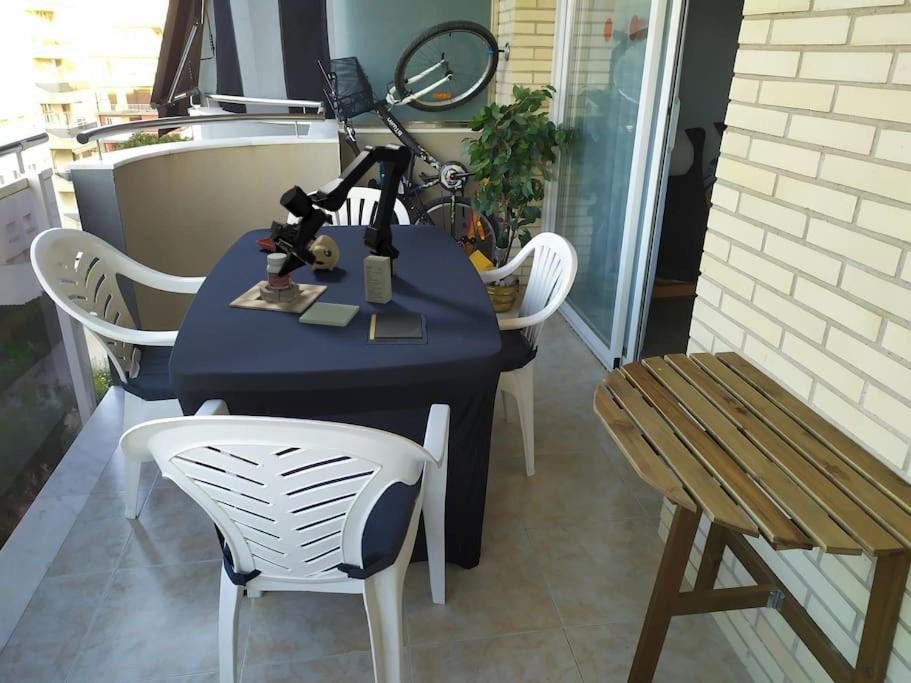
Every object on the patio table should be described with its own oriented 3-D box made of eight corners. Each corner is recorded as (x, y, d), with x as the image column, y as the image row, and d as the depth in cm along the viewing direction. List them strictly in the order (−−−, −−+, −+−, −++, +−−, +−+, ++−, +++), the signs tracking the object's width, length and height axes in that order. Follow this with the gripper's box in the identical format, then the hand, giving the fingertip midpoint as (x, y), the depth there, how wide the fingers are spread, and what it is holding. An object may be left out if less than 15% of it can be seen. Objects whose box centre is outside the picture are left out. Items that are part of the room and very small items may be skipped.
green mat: (359, 309, 173) (359, 306, 172) (344, 326, 162) (344, 322, 161) (316, 305, 174) (316, 302, 174) (299, 322, 164) (299, 318, 163)
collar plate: (327, 288, 187) (326, 278, 186) (300, 313, 169) (300, 302, 168) (262, 282, 190) (261, 272, 189) (229, 306, 172) (228, 295, 171)
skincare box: (392, 299, 180) (391, 257, 175) (385, 304, 177) (384, 261, 172) (371, 296, 182) (370, 254, 177) (364, 301, 179) (362, 258, 174)
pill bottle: (295, 296, 179) (292, 257, 174) (273, 300, 176) (269, 260, 171) (287, 289, 183) (284, 251, 179) (266, 293, 180) (262, 254, 176)
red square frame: (296, 239, 235) (295, 230, 233) (331, 248, 225) (330, 239, 224) (255, 250, 221) (254, 240, 220) (291, 260, 212) (290, 250, 211)
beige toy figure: (302, 275, 197) (300, 241, 193) (312, 263, 208) (310, 231, 204) (334, 276, 197) (333, 242, 193) (342, 264, 208) (341, 232, 204)
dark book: (428, 340, 153) (363, 339, 152) (428, 347, 153) (363, 347, 153) (427, 309, 171) (369, 308, 170) (427, 316, 172) (370, 315, 171)
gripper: (272, 203, 179) (238, 248, 177) (302, 216, 165) (265, 265, 164) (301, 227, 186) (268, 270, 185) (331, 242, 173) (296, 288, 171)
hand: (273, 273), depth 176 cm, fingers closed on pill bottle, 6 cm apart
